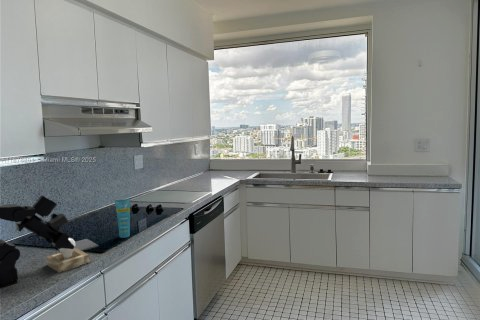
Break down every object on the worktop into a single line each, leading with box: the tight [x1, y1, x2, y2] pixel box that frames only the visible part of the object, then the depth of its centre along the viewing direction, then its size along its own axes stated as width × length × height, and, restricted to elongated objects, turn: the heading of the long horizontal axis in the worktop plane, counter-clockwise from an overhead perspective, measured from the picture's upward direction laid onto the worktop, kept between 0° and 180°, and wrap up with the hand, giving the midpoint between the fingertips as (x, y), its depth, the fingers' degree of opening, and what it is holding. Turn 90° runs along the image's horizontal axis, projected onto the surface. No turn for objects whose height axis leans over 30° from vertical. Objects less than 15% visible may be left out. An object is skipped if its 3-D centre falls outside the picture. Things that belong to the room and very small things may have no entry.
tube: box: [114, 198, 131, 239], centre depth 174 cm, size 7×5×19 cm, turn 119°
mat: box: [74, 238, 99, 252], centre depth 161 cm, size 14×14×1 cm
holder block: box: [46, 248, 90, 274], centre depth 141 cm, size 12×12×4 cm
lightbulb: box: [58, 237, 76, 260], centre depth 141 cm, size 6×6×11 cm
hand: (70, 246), depth 142 cm, fingers closed on lightbulb, 6 cm apart
